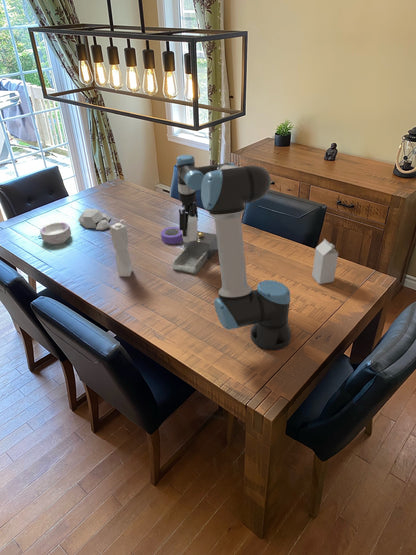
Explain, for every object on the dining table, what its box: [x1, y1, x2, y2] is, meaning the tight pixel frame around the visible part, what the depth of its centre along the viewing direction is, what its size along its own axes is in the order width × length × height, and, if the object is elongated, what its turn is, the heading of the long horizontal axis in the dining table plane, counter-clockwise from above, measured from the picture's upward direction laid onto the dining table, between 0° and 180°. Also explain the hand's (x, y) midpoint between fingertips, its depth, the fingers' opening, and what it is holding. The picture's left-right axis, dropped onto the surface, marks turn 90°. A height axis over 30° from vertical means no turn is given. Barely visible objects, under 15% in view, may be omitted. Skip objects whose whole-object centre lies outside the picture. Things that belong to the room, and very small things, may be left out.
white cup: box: [181, 215, 198, 241], centre depth 192 cm, size 8×8×10 cm
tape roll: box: [160, 226, 183, 245], centre depth 223 cm, size 12×12×5 cm
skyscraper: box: [109, 219, 133, 277], centre depth 190 cm, size 8×8×28 cm
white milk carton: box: [311, 238, 339, 285], centre depth 184 cm, size 7×7×19 cm
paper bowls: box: [39, 221, 72, 245], centre depth 224 cm, size 15×15×8 cm
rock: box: [77, 208, 112, 232], centre depth 238 cm, size 18×20×10 cm
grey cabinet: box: [171, 230, 218, 275], centre depth 203 cm, size 26×14×11 cm, turn 157°
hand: (189, 237), depth 195 cm, fingers closed on white cup, 7 cm apart
